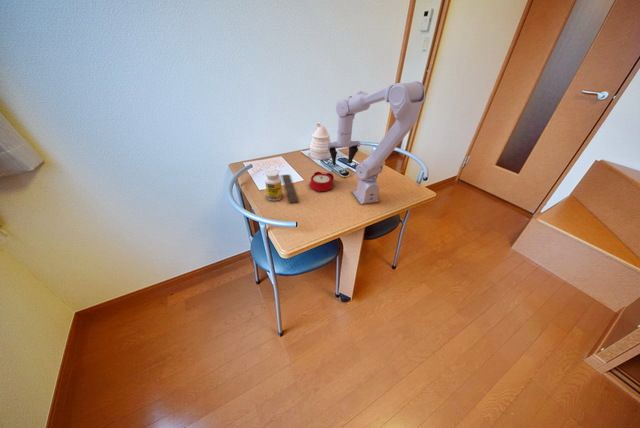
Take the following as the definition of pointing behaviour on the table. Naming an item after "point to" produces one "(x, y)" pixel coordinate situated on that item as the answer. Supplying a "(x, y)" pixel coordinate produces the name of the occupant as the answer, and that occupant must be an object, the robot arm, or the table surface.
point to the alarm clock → (321, 181)
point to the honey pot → (320, 143)
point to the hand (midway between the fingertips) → (341, 163)
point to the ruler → (289, 189)
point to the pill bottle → (273, 186)
